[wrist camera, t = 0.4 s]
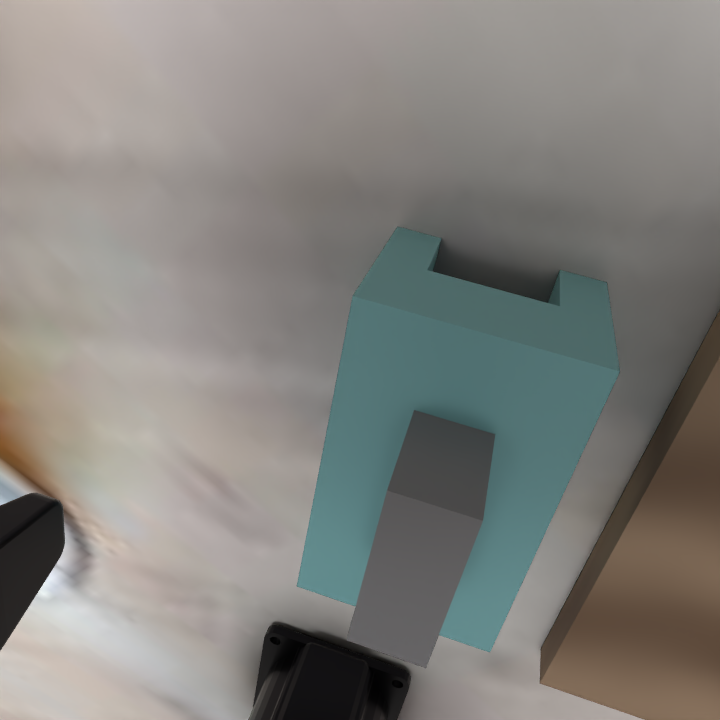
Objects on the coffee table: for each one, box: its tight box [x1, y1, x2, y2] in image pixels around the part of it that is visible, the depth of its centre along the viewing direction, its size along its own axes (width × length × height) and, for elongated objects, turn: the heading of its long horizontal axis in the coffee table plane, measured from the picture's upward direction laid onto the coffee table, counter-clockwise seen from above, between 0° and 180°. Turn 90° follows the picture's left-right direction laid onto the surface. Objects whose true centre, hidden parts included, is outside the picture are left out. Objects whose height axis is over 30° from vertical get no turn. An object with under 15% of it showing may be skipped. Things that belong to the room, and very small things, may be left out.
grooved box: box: [297, 227, 620, 668], centre depth 18 cm, size 10×6×8 cm, turn 169°
